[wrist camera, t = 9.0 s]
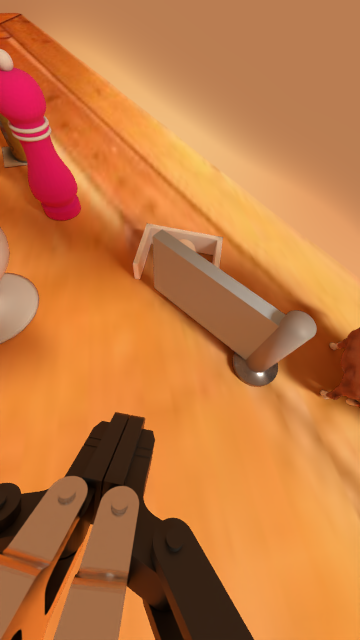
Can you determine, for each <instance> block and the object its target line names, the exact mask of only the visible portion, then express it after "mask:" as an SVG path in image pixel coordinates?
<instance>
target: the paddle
mask: <svg viewBox="0 0 360 640" xmlns="http://www.w3.org/2000/svg"><path fill="white" fill-rule="evenodd" d="M153 264H154V288H155V289H156V290H158V291H159V292H160V293H161V294H163V295H164V296H165V297H166V298H168V299H169V300H170V301H172V302H173V303H174V304H175V305H177V306H178V307H179V308H180V309H182V310H183V311H184V312H185V313H187V314H188V315H189V316H190V317H192V318H193V319H194V320H196V321H197V322H198V323H199V324H201V325H202V326H203V327H204V328H206V329H207V330H208V331H209V332H211V333H212V334H213V335H214V336H216V337H217V338H218V339H220V340H221V341H222V342H223V343H225V344H226V345H227V346H228V347H230V348H231V349H232V350H233V351H235V352H236V353H237V354H238V355H240V356H241V357H242V358H244V359H245V360H246V365H247V367H248V368H249V369H250V370H251V371H253V372H255V373H262V372H264V371H266V370H267V369H268V368H270V367H271V366H273V365H274V364H276V363H277V362H278V361H280V360H281V359H283V358H284V357H285V356H287V355H288V354H290V353H291V352H292V351H294V350H295V349H297V348H298V347H300V346H301V345H302V344H304V343H305V342H307V341H308V340H309V339H311V338H312V337H313V336H314V335H315V334H316V331H317V327H316V324H315V322H314V320H313V319H312V318H311V317H310V316H309V315H308V314H306V313H305V312H302V311H298V310H294V311H290V312H288V313H287V314H286V315H285V314H284V313H282V312H281V311H280V310H278V309H277V308H275V307H274V306H272V305H271V304H269V303H268V302H267V301H265V300H264V299H262V298H261V297H259V296H258V295H257V294H255V293H254V292H252V291H251V290H249V289H248V288H246V287H245V286H244V285H242V284H241V283H239V282H238V281H236V280H235V279H233V278H232V277H231V276H229V275H228V274H226V273H225V272H223V271H222V270H221V269H219V268H218V267H216V266H215V265H213V264H212V263H210V262H209V261H208V260H206V259H205V258H203V257H202V256H200V255H199V254H198V253H196V252H195V251H193V250H192V249H190V248H189V247H187V246H186V245H185V244H183V243H182V242H180V241H179V240H177V239H176V238H175V237H173V236H172V235H170V234H169V233H167V232H166V231H164V230H163V229H162V230H160V231H159V232H157V233H156V234H155V235H153Z"/></svg>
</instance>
